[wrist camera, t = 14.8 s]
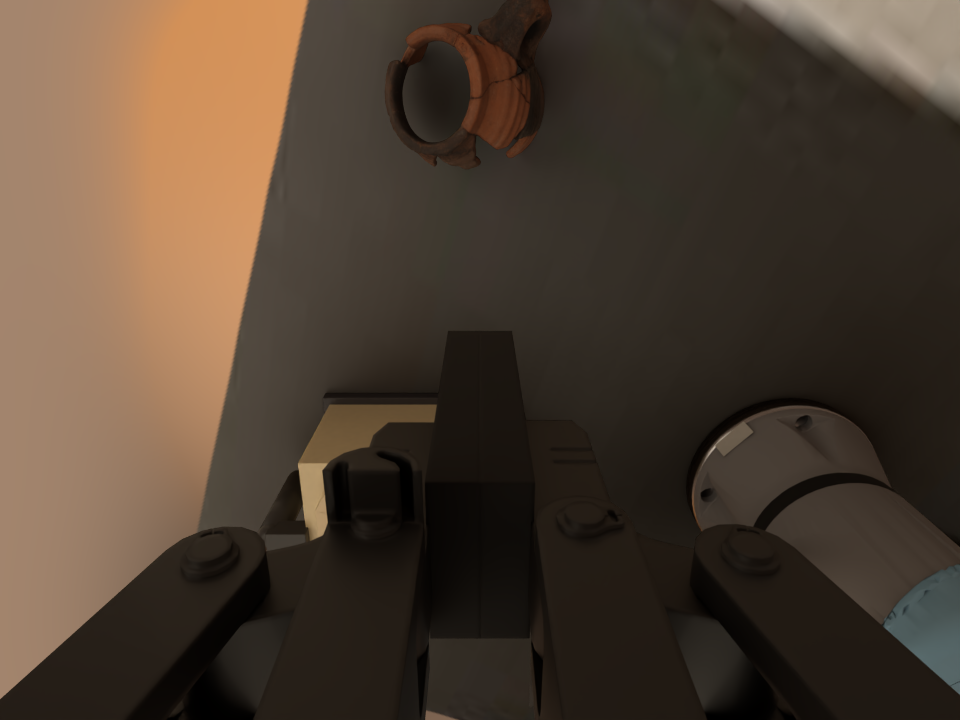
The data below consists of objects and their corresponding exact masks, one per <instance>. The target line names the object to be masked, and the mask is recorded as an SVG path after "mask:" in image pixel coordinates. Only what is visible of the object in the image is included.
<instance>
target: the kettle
mask: <svg viewBox="0 0 960 720" xmlns="http://www.w3.org/2000/svg"><path fill="white" fill-rule="evenodd" d="M436 406H437V405H329V407H328V409H327V411H326V412H325V414H324V416H323V418H322V420H321V422H320V424H319V425H318V427H317V429H316V431H315V433H314V435H313V437H312V438H311V440H310V442H309V444H308V446H307V448H306V450H305V451H304V453H303V455H302V457H301V459H300V461H299V463H298V467H299V476H300V484H301V492H302V500H303V509H304V517H305V525H306V527H308V528H309V537H310V541H311V540H313V539H316V538H318V537H320V536H322V535H323V534H324V531H325V529H326V526H327V523H328V521H327V512H326V502H325V493H324V483H323V474H322V470H323V469H324V468H325V467H326V465H327V464H328V463H329V462H330V461H331V460H333V459H334V458H336V457H338V456H340V455H341V454H343V453H346V452H349V451H352V450H356V449H359V448H365V447H369V446H370V443H371V440H372V437H373V435H374V434H375V433H376V432H377V431H379V430H380V429H381V428H382V427H383V426H385V425H386V424H387V423H388V422H434V419H435V413H436Z"/></svg>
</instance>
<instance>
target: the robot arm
mask: <svg viewBox="0 0 960 720" xmlns="http://www.w3.org/2000/svg"><path fill="white" fill-rule="evenodd" d="M322 474H323V483H324V493H325V502H326V512H327V521H328V523H327V526H326V529H325V531H324V534H323V535H322V536H320V537H318V538H316V539H313V540H311V541H308V542H305V543H301V544H298V545H294V546H289V547H284V548H280V549H275V550H270V551H266V547H265V541H264V540H263V539H262V538H261V537H260V536H259V535H258V534H257V532H254V531H251V530H249V529H246V528H243V527H219V528H214V529H208V530H204V531H201V532H198V533H196V534H193V535H191V536H189V537H186V538H184V539H182V540H180V541H179V542H178V543H176V544H175V545H173V546H172V547H170V548H169V549H167V550H166V551H165V552H164V553H163V554H162V555H160V556H159V557H158V558H157V559H156V560H155V561H154V562H153V563H151V564H150V565H149V566H148V567H147V568H146V569H145V570H144V571H142V572H141V573H140V574H139V575H138V576H137V577H136V578H135V579H134V580H132V581H131V582H130V583H129V584H128V585H127V586H126V587H125V588H124V589H122V590H121V591H120V592H119V593H118V594H117V595H116V596H115V597H114V598H112V599H111V600H110V601H109V602H108V603H107V604H106V605H105V606H104V607H102V608H101V609H100V610H99V611H98V612H97V613H96V614H95V615H94V616H92V617H91V618H90V619H89V620H88V621H87V622H86V623H85V624H83V625H82V626H81V627H80V628H79V629H78V630H77V631H76V632H75V633H73V634H72V635H71V636H70V637H69V638H68V639H67V640H66V641H65V642H63V643H62V644H61V645H60V646H59V647H58V648H57V649H56V650H55V651H54V652H52V653H51V654H50V655H49V656H48V657H47V658H46V659H45V660H43V661H42V662H41V663H40V664H39V665H38V666H37V667H36V668H35V669H33V670H32V671H31V672H30V673H29V674H28V675H27V676H26V677H25V678H23V679H22V680H21V681H20V682H19V683H18V684H17V685H16V686H15V687H13V688H12V689H11V690H10V691H9V692H8V693H7V694H6V695H4V696H3V697H2V698H1V699H0V720H425V714H426V703H427V692H428V681H429V670H430V665H429V632H430V638H530V629H531V665H530V690H529V707H534V714H535V720H960V547H959V546H958V545H957V544H956V543H954V542H953V541H952V540H951V539H950V538H949V537H947V536H946V535H945V534H944V533H943V532H942V531H940V530H939V529H938V528H937V527H936V526H935V525H934V524H932V523H931V522H930V521H929V520H928V519H927V518H925V517H924V516H923V515H922V514H921V513H920V512H918V511H917V510H916V509H915V508H914V507H913V506H912V505H910V504H909V503H908V502H907V501H906V500H905V499H903V498H902V497H901V496H900V495H899V494H897V493H896V492H895V491H894V490H893V489H892V488H891V486H890V483H889V481H888V479H887V477H886V475H885V472H884V470H883V468H882V466H881V464H880V462H879V459H878V457H877V455H876V453H875V451H874V448H873V446H872V444H871V442H870V441H869V439H868V438H867V436H866V435H865V434H864V432H863V431H862V430H861V429H860V428H859V427H857V426H856V425H855V424H854V423H852V422H851V421H850V420H849V419H847V418H846V417H845V416H844V415H842V414H841V413H840V412H838V411H837V410H835V409H833V408H831V407H829V406H827V405H825V404H822V403H819V402H815V401H811V400H805V399H793V398H790V399H777V400H771V401H766V402H762V403H759V404H756V405H753V406H751V407H748V408H746V409H744V410H742V411H740V412H738V413H736V414H734V415H733V416H731V417H729V418H728V419H727V420H725V421H724V422H722V423H721V424H720V425H719V426H718V427H716V428H715V429H714V430H713V431H712V432H711V433H710V434H709V435H708V437H707V438H706V439H705V440H704V441H703V443H702V444H701V446H700V447H699V449H698V450H697V452H696V454H695V456H694V458H693V460H692V462H691V465H690V468H689V472H688V477H687V485H686V489H687V499H688V504H689V507H690V510H691V512H692V515H693V516H694V518H695V520H696V522H697V524H698V526H699V527H700V529H701V531H702V532H701V533H700V534H699V535H698V537H697V538H696V541H695V547H694V549H693V548H688V547H683V546H678V545H674V544H669V543H664V542H661V541H657V540H654V539H650V538H648V537H646V536H644V535H641V534H639V533H637V532H636V530H635V528H634V525H633V523H632V521H631V520H630V518H629V517H628V515H627V514H626V513H625V511H623V510H622V509H620V508H619V507H617V506H616V505H614V504H613V503H611V501H610V498H609V495H608V492H607V489H606V487H605V484H604V481H603V478H602V475H601V472H600V469H599V466H598V464H597V463H596V458H595V455H594V452H593V451H592V446H591V443H590V441H589V438H588V435H587V433H586V432H585V431H584V430H583V429H581V428H580V427H579V426H578V425H577V424H575V423H574V422H573V421H572V420H526V419H525V413H524V406H523V400H522V394H521V387H520V381H519V374H518V368H517V361H516V355H515V348H514V342H513V335H512V331H448V335H447V342H446V348H445V355H444V361H443V368H442V374H441V381H440V387H439V394H438V400H437V406H436V413H435V419H434V422H388V423H387V424H386V425H385V426H383V427H382V428H381V429H380V430H379V431H377V432H376V433H375V434H374V435H373V437H372V440H371V443H370V446H369V447H365V448H359V449H356V450H352V451H349V452H346V453H343V454H341V455H340V456H338V457H336V458H334V459H333V460H331V461H330V462H329V463H328V464H327V465H326V467H325V468H324V469H323V470H322Z"/></svg>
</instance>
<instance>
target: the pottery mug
mask: <svg viewBox="0 0 960 720" xmlns="http://www.w3.org/2000/svg"><path fill="white" fill-rule="evenodd" d="M551 17H552V13H551V9H550V7H549V4H548V0H507V1H506V2H505V3H504V4H503V5H502V6H501V8H500V9H499V11H498V12H497V13H496V14H495V15H494V16H493V17H492V18H490V19H485V20H483V21H482V22H480V23H479V26H478V31H479V34H480V35H481V36H482V37H480V36H478V35H475V36H474V35H471V34H470V32H471V25H468V24H461V23H445V24H440V25H434V24H433V25H427V26H424V27H420V28H418V29H417V30H415V31H414V32H412V33H411V34H410V35H408V36H407V38H406V41H407V43H408V45H409V46H408V47H407V49H406V51H405V53H404V56H403V58H402V60H401V62H400V61H398V60H394V61H392V62H390V64H389V66H388V71H387V75H386V85H385V103H386V107H387V111H388V115H389V116H390V121H391V124H392V126H393V129H394V131H395V132H396V133H397V135H398V137H399V138H400V140H401V141H402V142H403V143H404V144H405V145H406V146H407V147H409V148H410V149H411V150H414V151H415V152H417V153H418V154H419V155H420V156H421V157H422V158H423V159H424V160H425V161H427V162H428V163H430V164H431V165H433V166H436V165H437V161H436V158H437V156H438V157H439V158H441V159H442V160H443V161H444V162H446V163H448V164H449V165H452V166H460V167H462V168H463V169H470V168H474V167H477V166H479V165H480V164H481V161H480V159H479V158H478V157H477V156H476V148H475V142H476V135H478V136H480V138H482V139H483V140H484V141H486V142H487V143H489V144H490V145H491V146H493V147H494V148H495V149H497V150H498V149H502V148H505V147H507V146H509V144H510V143H511V141H512V140H513V139H516V140H518V139H519V140H518V141H517V142H516V143H515V144H514V145H513V146H512V147H511V148H510V149H509V150H508V151H507V152H506V155H507V156H508V157H509V158H513V157H515V156H516V155H517V154H519V153H521V152H522V151H524V150H525V149H526V148H527V147H528V146H529V144H530V143H531V142H532V140H533V139H534V137H535V135H536V134H537V131H538V129H539V128H540V125H541V122H542V118H543V113H544V91H543V87H542V84H541V81H540V79H539V76H538V73H537V70H536V67H535V64H534V59H535V53H536V49H537V46H538V44H539V41H540V40H541V38H542V37H543V35H544V33H545V32H546V30H547V28H548V26H549V24H550V21H551ZM432 41H443V42H447V43H448V44H450V45H452V46H453V47H455V48H456V49H457V50H458V51H459V53H460V54H461V56H462V57H463V59H464V61H465V63H466V66H467V69H468V73H469V78H470V88H471V92H470V97H471V98H470V101H469V107H468V110H467V113H466V115H465V118H464V120H463V122H462V124H461V127H460V128H459V129H458V130H457V131H456V132H455V133H454V134H453V135H452V136H451V137H449V138H448V139H446V140H444V141H441V142H436V143H430V142H426V141H424V140H422V139H421V138H419V137H418V136H417V135H416V134H415V133H414V132H413V130H412V129H411V127H410V126H409V124H408V121H407V119H406V115H405V112H404V107H403V98H402V89H403V83H404V79H405V75H406V73H407V70H408V67H409V66H410V65H413V64H415V63H417V62H419V61H421V59H422V58H423V56H424V53H425V51H426V48H427V46H428V43H429V42H432ZM517 64H518V65H519V67H520V68H521V69H522V72H521V73H519V74H517Z"/></svg>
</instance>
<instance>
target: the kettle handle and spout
mask: <svg viewBox="0 0 960 720" xmlns="http://www.w3.org/2000/svg"><path fill="white" fill-rule="evenodd" d="M438 394H439V393H326V394H325V395H324V397H323V405H324V414H325V412H326V411H327V409H328V407H329V405H437V400H438ZM302 505H303V500H302V492H301V484H300V476H299V470H296V471H293V472H292V473H291V474H290V475H289V476H288V478H287V480H286V482H285V483H284V485H283V487H282V489H281V491H280V492H279V494H278V496H277V498H276V500H275V502H274V503H273V505H272V507H271V509H270V511H269V513H268V514H267V516H266V518H265V520H264V522H263V524H262V525H261V527H260V529H259V531H258V535H259V536H260V537H261V538H262V539H263V540H264V541H265V547H266V550H267V551H270V550H275V549H280V548H284V547H289V546H294V545H298V544H301V543H305V542H308V541H310V537H309V528H308V527H306V525H305V521H295V520H296V518H297V516H298V514H299V511H300V509H301V507H302Z"/></svg>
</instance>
